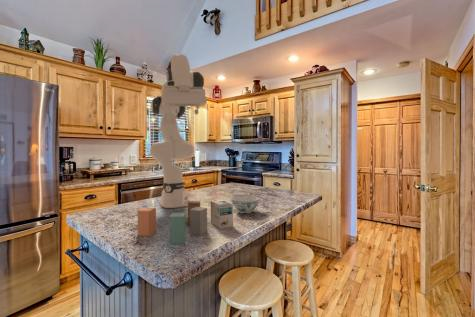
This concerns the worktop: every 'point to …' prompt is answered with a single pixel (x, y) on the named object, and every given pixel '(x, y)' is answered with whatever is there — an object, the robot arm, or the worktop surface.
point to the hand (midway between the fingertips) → (186, 114)
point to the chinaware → (245, 203)
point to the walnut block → (192, 205)
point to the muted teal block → (177, 228)
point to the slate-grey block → (198, 220)
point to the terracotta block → (146, 221)
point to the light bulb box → (222, 213)
